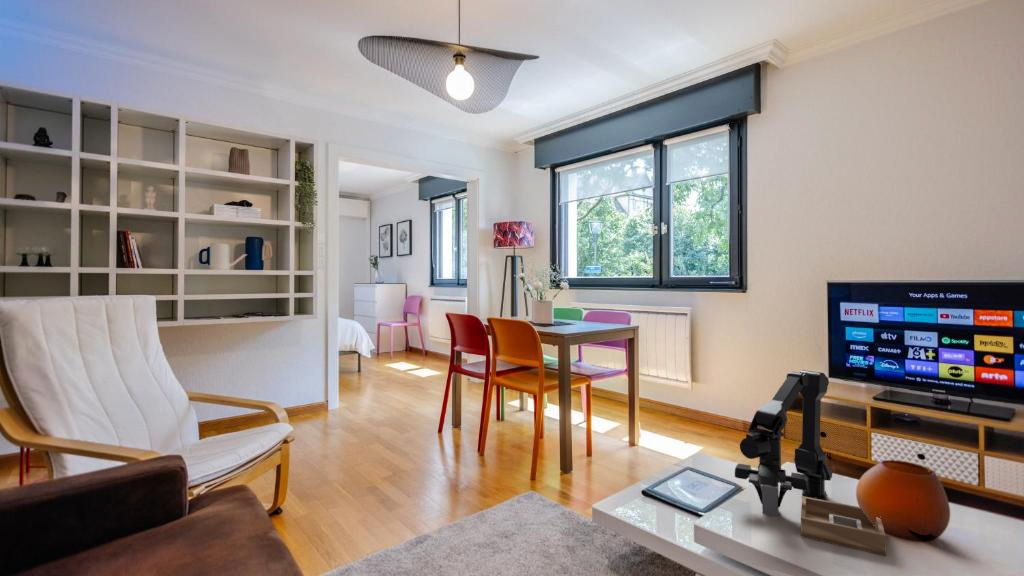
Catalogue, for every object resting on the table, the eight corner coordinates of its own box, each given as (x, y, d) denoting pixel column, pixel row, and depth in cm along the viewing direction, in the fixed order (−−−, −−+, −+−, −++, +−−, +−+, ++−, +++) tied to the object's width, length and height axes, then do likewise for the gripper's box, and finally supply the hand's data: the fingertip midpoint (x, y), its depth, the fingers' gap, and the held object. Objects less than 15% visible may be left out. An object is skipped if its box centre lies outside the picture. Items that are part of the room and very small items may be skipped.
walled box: (802, 513, 141) (802, 496, 141) (878, 528, 132) (878, 510, 132) (801, 536, 128) (800, 517, 128) (886, 556, 118) (885, 535, 118)
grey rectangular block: (763, 507, 145) (763, 481, 145) (778, 511, 143) (778, 484, 143) (762, 512, 142) (761, 485, 142) (778, 516, 139) (777, 488, 140)
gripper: (731, 454, 141) (732, 508, 140) (806, 466, 131) (806, 524, 130) (737, 444, 150) (737, 494, 150) (806, 455, 140) (807, 508, 140)
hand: (770, 505), depth 142 cm, fingers closed on grey rectangular block, 4 cm apart
